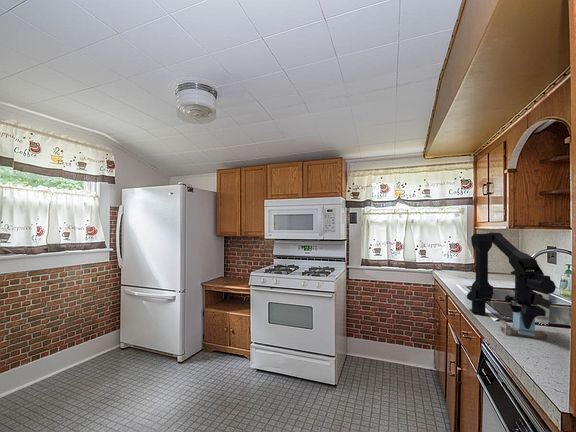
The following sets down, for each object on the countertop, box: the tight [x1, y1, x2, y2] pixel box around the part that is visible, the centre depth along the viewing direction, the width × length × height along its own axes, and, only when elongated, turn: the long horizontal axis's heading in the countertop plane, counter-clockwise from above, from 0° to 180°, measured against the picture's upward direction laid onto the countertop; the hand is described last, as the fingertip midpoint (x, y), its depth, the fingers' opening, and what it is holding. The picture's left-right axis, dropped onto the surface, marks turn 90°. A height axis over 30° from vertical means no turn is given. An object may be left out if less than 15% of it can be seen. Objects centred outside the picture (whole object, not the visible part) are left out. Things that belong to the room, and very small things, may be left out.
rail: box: [499, 319, 548, 340], centre depth 111 cm, size 14×6×4 cm, turn 72°
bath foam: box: [533, 290, 550, 326], centre depth 125 cm, size 7×7×20 cm
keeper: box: [512, 312, 536, 336], centre depth 111 cm, size 5×6×7 cm
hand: (523, 325), depth 111 cm, fingers closed on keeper, 6 cm apart
